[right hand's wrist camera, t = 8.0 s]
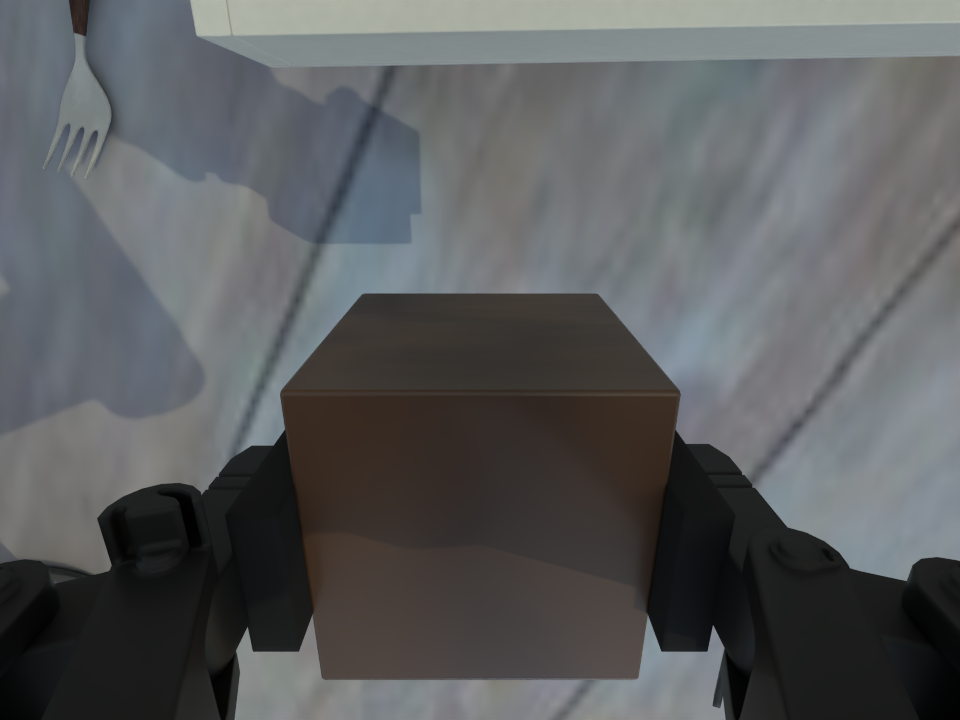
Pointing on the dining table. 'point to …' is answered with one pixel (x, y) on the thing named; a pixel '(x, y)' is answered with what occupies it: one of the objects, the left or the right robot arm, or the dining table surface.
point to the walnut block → (480, 487)
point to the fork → (81, 99)
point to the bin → (573, 30)
